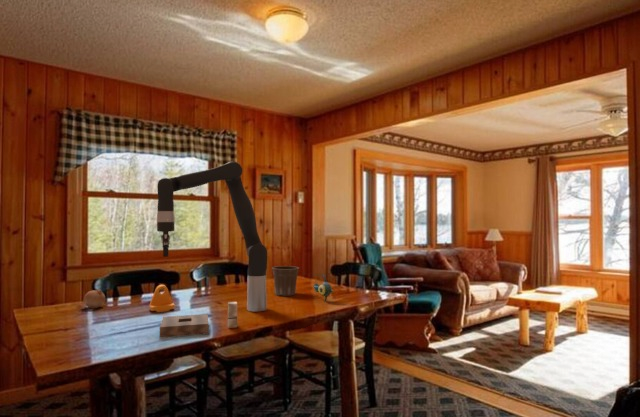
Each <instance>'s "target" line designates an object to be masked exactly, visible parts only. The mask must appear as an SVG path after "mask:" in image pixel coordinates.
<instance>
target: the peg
mask: <svg viewBox="0 0 640 417" xmlns="http://www.w3.org/2000/svg"><path fill="white" fill-rule="evenodd" d="M227 328H228V329H232V328H238V302H237V301H228V302H227Z"/></svg>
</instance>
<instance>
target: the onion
mask: <svg viewBox="0 0 640 417" xmlns="http://www.w3.org/2000/svg"><path fill="white" fill-rule="evenodd" d="M105 301H106V296H105V293H104V292H103V291H102V290H101V289H95V290H89V291H88V292H86V293H85V295H84V297H83V303H84V305H85V306H86V307H87V308H89V309H99V308H101V307H102V306H103V305H104V303H105Z"/></svg>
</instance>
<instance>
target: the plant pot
mask: <svg viewBox="0 0 640 417" xmlns="http://www.w3.org/2000/svg"><path fill="white" fill-rule="evenodd" d="M271 269H272V274H273V282H274V283H273V284H274V285H273V287H274V295H275V296H279V297H280V296H283V297H292V296H294V295H296V290H297V289H296V288H297V279H298V274H299V269H300V267H298V266H293V265H291V266H290V265H277V266H276V265H275V266H273V267H271Z"/></svg>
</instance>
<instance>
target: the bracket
mask: <svg viewBox="0 0 640 417" xmlns="http://www.w3.org/2000/svg"><path fill="white" fill-rule="evenodd" d="M168 288H169V287H167V286H166V285H165V284H159V285H157V286H156V287H155V290H154V292H153V296H152V297H151V299H150V303H149V308H148V309H149V310H150V311H151V312H156V313H160V312H161V313H163V312H170V310H173V309H175V303H174V302H173V299H172V297H171V295H170V292H169V289H168ZM162 289H164V290H163V292H160V291H161V290H162Z"/></svg>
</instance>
